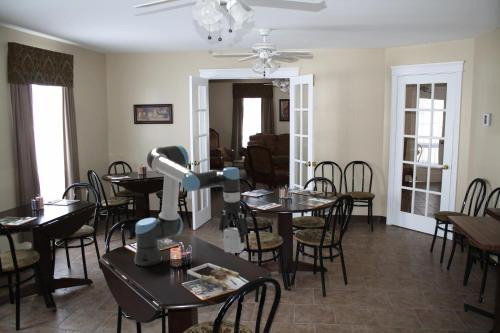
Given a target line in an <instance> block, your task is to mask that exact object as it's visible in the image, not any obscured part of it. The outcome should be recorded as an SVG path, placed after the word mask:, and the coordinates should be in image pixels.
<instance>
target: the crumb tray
mask: <svg viewBox="0 0 500 333" xmlns="http://www.w3.org/2000/svg"><path fill="white" fill-rule="evenodd" d="M207 267H209V268H211V269H213V270H214V269H219V270H220V268H222V267H221V266H218V265H215V264H213V263H210V262H207V263H204V264H202V265H199V266H196V267H193V268H190V269H188V270H186V273H187V274H188V275H191V276H193V277H196V278H198V279H201V276H202V275H203V274H202V275H201V274H200V273H197V271H199V270H202V269H205V268H207ZM201 280H202V279H201Z"/></svg>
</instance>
